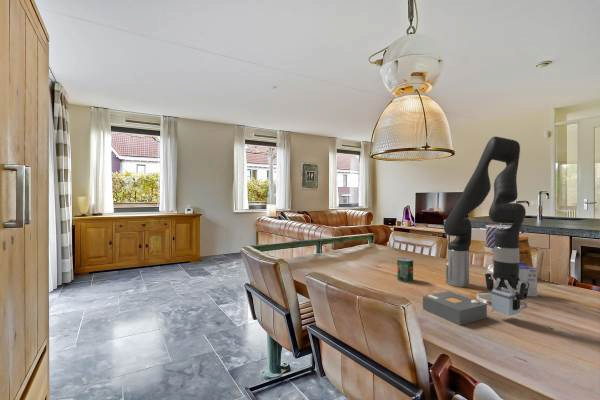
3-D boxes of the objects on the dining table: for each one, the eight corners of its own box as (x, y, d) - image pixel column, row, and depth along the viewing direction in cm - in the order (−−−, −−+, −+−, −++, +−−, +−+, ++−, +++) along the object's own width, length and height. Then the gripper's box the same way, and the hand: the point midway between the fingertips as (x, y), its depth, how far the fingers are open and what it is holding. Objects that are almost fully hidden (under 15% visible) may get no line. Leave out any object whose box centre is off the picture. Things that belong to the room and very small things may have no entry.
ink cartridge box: (531, 293, 133) (531, 260, 133) (538, 297, 128) (538, 263, 127) (506, 291, 135) (506, 260, 135) (512, 296, 130) (512, 262, 129)
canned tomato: (415, 282, 151) (415, 260, 151) (400, 282, 151) (399, 260, 151) (410, 278, 159) (410, 257, 159) (395, 278, 159) (395, 257, 159)
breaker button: (444, 311, 113) (444, 299, 113) (452, 309, 114) (452, 297, 114) (454, 316, 109) (454, 303, 109) (462, 314, 110) (462, 301, 110)
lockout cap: (491, 309, 107) (491, 290, 107) (502, 306, 110) (502, 288, 109) (509, 316, 102) (509, 295, 101) (520, 312, 104) (520, 293, 104)
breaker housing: (422, 308, 116) (422, 294, 116) (448, 303, 122) (448, 289, 122) (459, 325, 101) (459, 308, 101) (486, 318, 107) (486, 302, 107)
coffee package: (534, 281, 150) (534, 238, 150) (505, 278, 156) (505, 236, 155) (529, 276, 159) (529, 235, 159) (501, 274, 165) (501, 234, 164)
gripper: (535, 262, 100) (534, 312, 100) (493, 254, 113) (492, 298, 114) (521, 265, 97) (520, 316, 97) (479, 256, 110) (479, 301, 111)
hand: (505, 306), depth 106 cm, fingers closed on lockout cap, 6 cm apart
